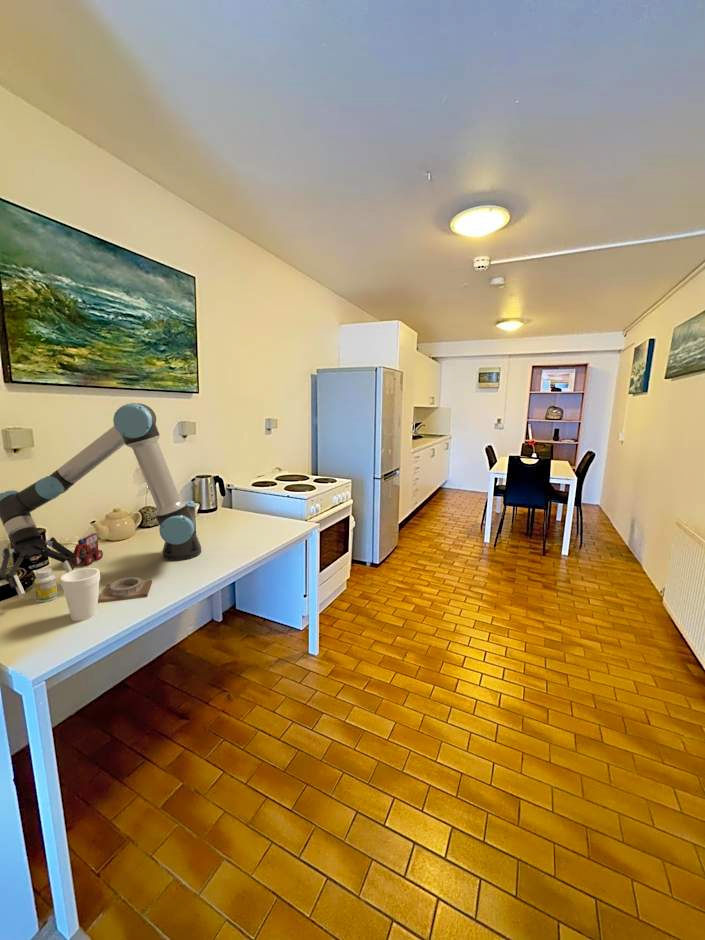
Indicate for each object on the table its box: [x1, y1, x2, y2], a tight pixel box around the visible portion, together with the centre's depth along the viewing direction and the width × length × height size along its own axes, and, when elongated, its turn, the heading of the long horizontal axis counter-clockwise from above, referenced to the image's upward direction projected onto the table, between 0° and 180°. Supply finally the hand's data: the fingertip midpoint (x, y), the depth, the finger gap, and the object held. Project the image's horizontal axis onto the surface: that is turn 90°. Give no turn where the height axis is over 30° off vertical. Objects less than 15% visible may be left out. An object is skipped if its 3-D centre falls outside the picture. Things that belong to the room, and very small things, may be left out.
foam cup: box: [60, 567, 101, 622], centre depth 114 cm, size 10×9×13 cm
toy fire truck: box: [71, 532, 104, 566], centre depth 152 cm, size 7×12×10 cm, turn 176°
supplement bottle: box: [34, 567, 58, 603], centre depth 123 cm, size 5×5×10 cm
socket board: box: [98, 576, 153, 603], centre depth 130 cm, size 14×11×3 cm
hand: (49, 586), depth 122 cm, fingers open, 13 cm apart
